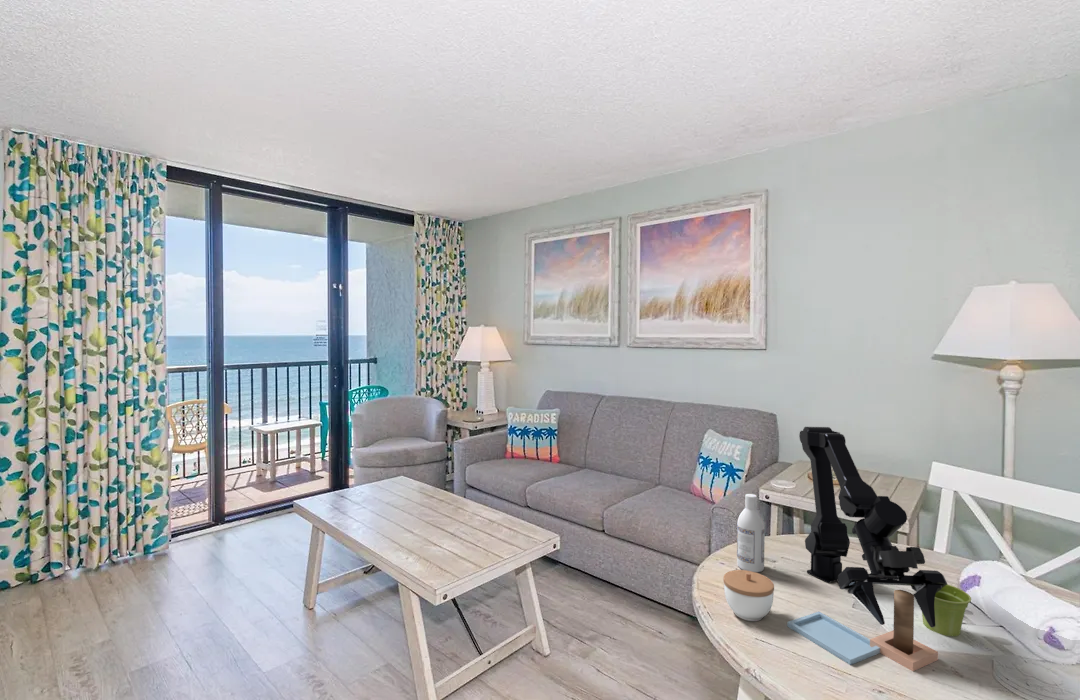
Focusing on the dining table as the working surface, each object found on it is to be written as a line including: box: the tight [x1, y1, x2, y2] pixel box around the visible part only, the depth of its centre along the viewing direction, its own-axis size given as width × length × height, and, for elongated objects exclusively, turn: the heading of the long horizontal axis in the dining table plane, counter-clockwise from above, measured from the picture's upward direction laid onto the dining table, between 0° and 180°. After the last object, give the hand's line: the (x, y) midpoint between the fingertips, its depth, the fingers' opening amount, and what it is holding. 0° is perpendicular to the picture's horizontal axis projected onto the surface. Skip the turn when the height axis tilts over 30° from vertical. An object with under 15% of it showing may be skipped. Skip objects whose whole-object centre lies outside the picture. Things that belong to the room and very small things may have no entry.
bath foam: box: [736, 493, 766, 573], centre depth 137 cm, size 7×7×20 cm
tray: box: [786, 611, 881, 666], centre depth 104 cm, size 14×10×2 cm
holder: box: [869, 629, 939, 672], centre depth 99 cm, size 8×8×2 cm
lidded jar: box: [723, 569, 775, 622], centre depth 114 cm, size 11×11×9 cm
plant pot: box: [921, 583, 972, 637], centre depth 108 cm, size 9×9×9 cm
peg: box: [893, 589, 915, 655], centre depth 99 cm, size 3×3×12 cm
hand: (908, 625), depth 98 cm, fingers open, 9 cm apart
